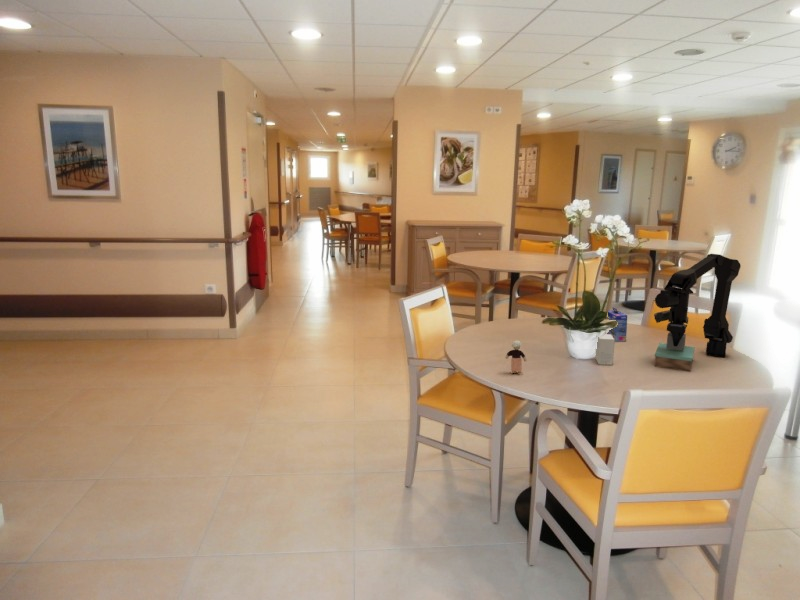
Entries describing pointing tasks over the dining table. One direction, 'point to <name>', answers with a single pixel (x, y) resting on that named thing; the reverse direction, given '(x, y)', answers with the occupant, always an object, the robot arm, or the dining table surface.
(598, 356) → the small box
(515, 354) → the grandmother figurine
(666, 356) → the lid
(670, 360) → the storage box
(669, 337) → the block
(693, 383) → the dining table surface
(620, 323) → the ink cartridge box
